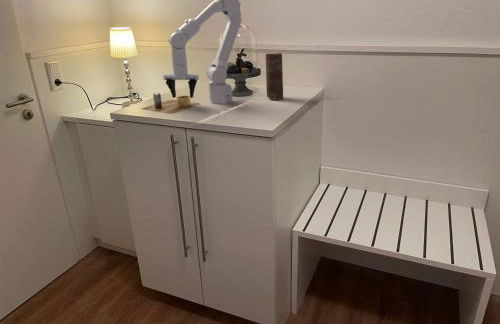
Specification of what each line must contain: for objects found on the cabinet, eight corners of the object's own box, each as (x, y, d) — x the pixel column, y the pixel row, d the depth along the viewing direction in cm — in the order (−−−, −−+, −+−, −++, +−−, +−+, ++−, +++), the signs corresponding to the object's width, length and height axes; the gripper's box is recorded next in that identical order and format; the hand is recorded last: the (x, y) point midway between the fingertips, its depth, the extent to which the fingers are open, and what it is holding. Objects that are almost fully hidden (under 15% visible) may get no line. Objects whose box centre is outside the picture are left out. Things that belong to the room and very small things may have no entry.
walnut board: (201, 105, 160) (201, 103, 160) (172, 116, 146) (172, 114, 146) (170, 101, 169) (170, 99, 169) (140, 111, 155) (140, 108, 155)
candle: (263, 100, 166) (263, 53, 159) (269, 96, 173) (268, 51, 165) (280, 101, 164) (280, 53, 156) (285, 97, 170) (285, 51, 162)
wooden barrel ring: (193, 104, 159) (192, 96, 158) (184, 107, 155) (183, 99, 153) (183, 103, 162) (182, 95, 160) (175, 106, 157) (174, 97, 156)
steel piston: (163, 106, 157) (162, 93, 155) (158, 108, 155) (156, 95, 153) (158, 105, 159) (156, 93, 157) (153, 107, 156) (151, 94, 154)
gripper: (200, 62, 154) (202, 95, 159) (166, 62, 156) (170, 94, 162) (194, 65, 148) (197, 99, 153) (160, 65, 150) (163, 98, 155)
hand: (183, 97), depth 157 cm, fingers open, 7 cm apart
